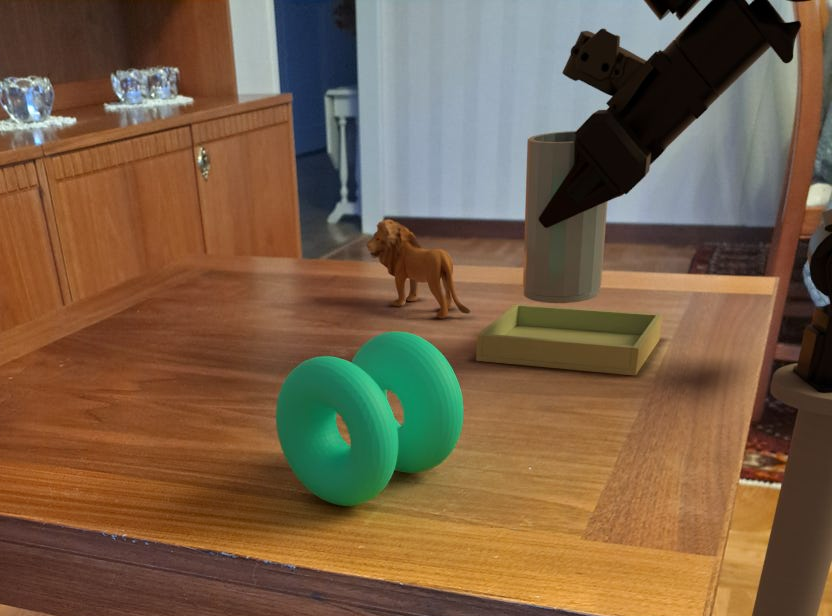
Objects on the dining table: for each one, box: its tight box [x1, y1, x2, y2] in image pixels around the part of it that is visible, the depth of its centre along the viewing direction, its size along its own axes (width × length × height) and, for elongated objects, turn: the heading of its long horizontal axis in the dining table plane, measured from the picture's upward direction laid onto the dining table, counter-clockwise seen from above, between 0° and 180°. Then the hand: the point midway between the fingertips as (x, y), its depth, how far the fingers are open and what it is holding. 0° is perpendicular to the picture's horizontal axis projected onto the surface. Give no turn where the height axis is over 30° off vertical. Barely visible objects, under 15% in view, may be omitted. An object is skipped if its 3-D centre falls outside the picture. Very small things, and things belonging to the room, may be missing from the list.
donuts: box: [275, 330, 465, 507], centre depth 65 cm, size 10×10×10 cm
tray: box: [475, 303, 664, 377], centre depth 92 cm, size 15×12×2 cm
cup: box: [522, 130, 608, 304], centre depth 84 cm, size 7×7×13 cm
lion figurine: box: [365, 219, 471, 319], centre depth 107 cm, size 15×5×9 cm, turn 43°
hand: (549, 216), depth 85 cm, fingers closed on cup, 7 cm apart
